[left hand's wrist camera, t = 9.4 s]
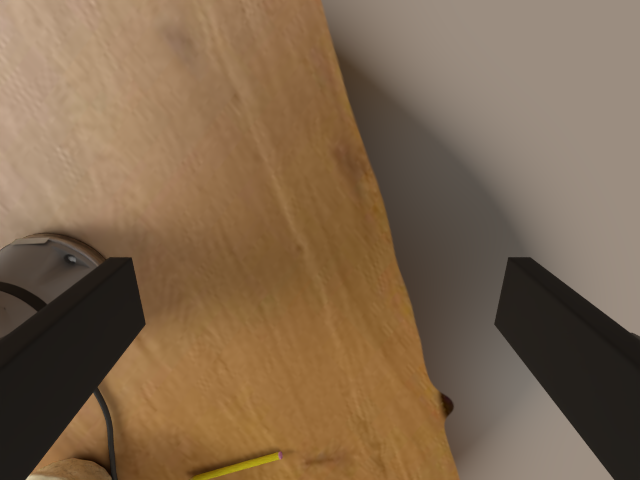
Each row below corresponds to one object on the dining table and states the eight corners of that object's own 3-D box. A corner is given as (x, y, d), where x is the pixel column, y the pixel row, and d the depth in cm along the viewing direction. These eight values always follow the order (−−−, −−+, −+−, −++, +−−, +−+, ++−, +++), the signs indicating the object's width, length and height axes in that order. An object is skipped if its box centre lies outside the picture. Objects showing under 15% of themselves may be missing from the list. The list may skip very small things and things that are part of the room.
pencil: (280, 449, 56) (279, 455, 55) (282, 454, 56) (282, 460, 55) (186, 476, 58) (183, 482, 57) (189, 480, 58) (186, 486, 57)
